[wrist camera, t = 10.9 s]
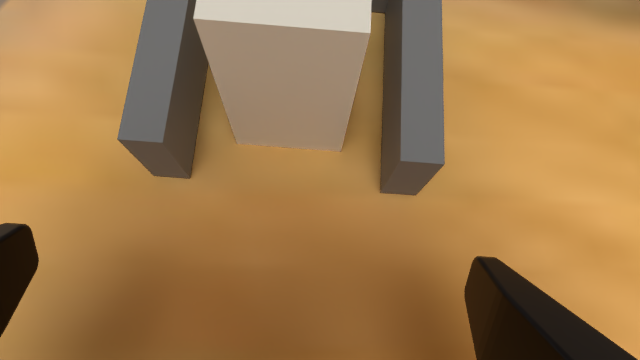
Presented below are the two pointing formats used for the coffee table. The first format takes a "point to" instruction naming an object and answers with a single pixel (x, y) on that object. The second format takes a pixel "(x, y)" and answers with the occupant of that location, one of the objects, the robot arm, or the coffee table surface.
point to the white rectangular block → (286, 67)
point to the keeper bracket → (190, 74)
